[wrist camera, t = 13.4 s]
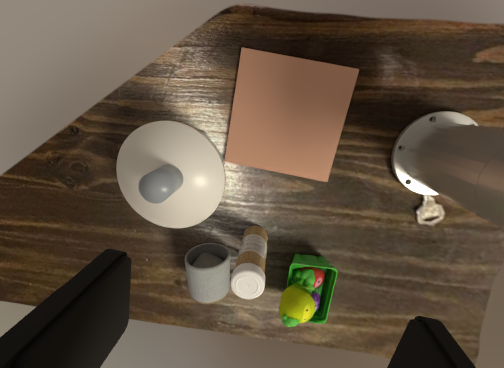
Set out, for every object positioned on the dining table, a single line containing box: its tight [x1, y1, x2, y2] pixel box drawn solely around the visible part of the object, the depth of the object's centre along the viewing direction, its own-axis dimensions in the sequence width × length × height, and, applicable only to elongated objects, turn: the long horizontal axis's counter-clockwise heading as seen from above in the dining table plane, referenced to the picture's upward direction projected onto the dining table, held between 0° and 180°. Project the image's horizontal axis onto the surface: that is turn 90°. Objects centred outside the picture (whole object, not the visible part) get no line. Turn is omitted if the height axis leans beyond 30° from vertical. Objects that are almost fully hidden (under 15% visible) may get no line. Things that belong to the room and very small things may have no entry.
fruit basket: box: [279, 254, 337, 327], centre depth 42 cm, size 11×9×11 cm
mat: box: [224, 47, 359, 182], centre depth 39 cm, size 17×17×1 cm
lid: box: [116, 121, 226, 228], centre depth 35 cm, size 16×16×6 cm
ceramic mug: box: [185, 243, 238, 304], centre depth 45 cm, size 11×8×8 cm
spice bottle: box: [230, 226, 268, 299], centre depth 40 cm, size 5×5×14 cm
